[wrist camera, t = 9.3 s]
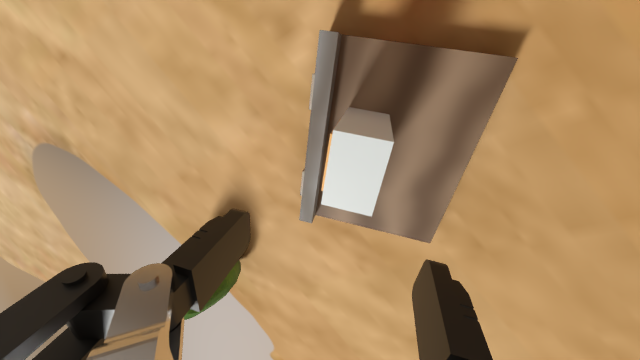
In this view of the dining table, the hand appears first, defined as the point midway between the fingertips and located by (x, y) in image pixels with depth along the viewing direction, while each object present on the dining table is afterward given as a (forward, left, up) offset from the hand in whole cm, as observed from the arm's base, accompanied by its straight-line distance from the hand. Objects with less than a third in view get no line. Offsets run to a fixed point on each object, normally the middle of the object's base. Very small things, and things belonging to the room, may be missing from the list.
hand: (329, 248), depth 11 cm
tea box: (0, 0, -16) cm, 16 cm away
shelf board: (-3, +1, -18) cm, 18 cm away
